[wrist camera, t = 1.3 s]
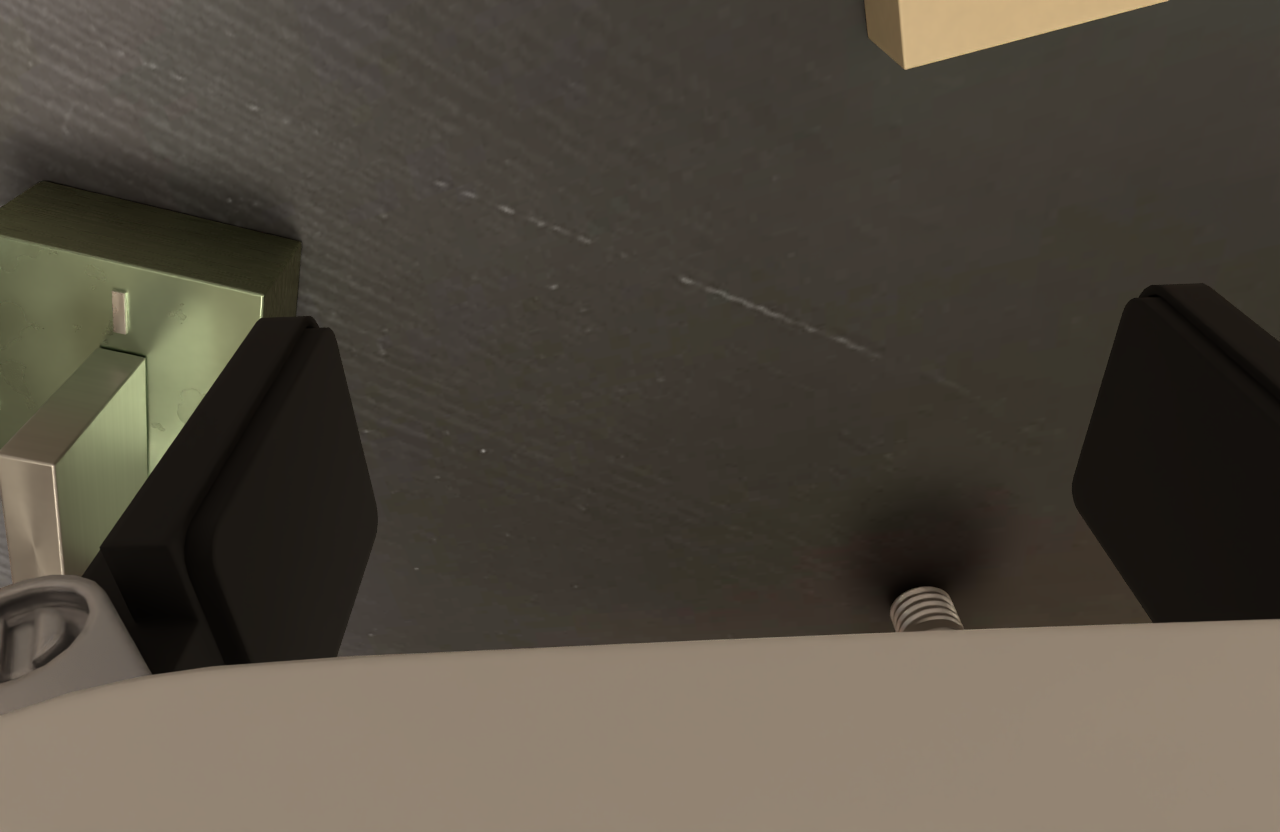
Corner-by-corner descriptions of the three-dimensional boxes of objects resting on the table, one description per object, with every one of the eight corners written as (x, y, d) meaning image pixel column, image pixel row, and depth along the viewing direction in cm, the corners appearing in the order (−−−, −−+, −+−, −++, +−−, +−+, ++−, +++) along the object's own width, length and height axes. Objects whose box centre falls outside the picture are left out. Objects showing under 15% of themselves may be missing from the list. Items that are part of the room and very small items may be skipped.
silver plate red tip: (97, 346, 27) (-12, 459, 23) (146, 356, 28) (49, 471, 23) (105, 497, 30) (11, 624, 26) (149, 505, 31) (64, 633, 26)
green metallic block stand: (3, 170, 28) (-81, 219, 25) (336, 249, 30) (301, 305, 27) (34, 467, 35) (-29, 540, 31) (308, 518, 36) (276, 592, 33)
